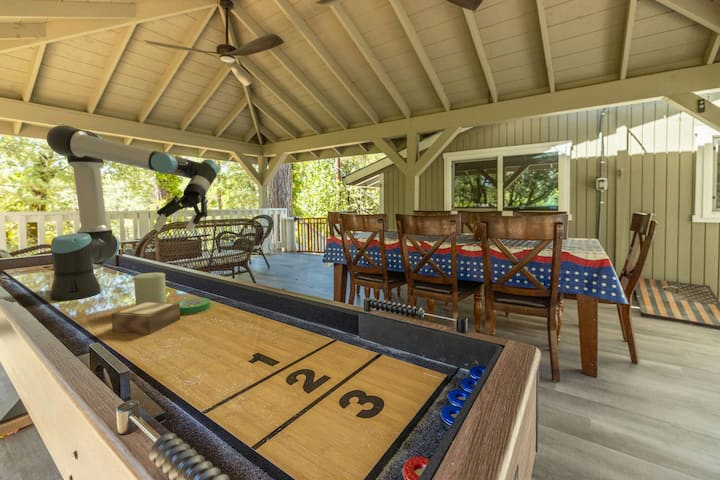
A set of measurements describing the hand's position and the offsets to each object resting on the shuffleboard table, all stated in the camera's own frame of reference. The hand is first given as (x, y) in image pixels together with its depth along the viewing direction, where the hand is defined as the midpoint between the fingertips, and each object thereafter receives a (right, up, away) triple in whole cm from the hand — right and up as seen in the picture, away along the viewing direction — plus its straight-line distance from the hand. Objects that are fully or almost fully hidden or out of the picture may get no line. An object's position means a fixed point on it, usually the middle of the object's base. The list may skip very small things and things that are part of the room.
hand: (172, 229), depth 124 cm
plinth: (+6, -29, -24) cm, 38 cm away
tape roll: (+12, -28, -9) cm, 32 cm away
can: (-2, -27, -9) cm, 29 cm away
